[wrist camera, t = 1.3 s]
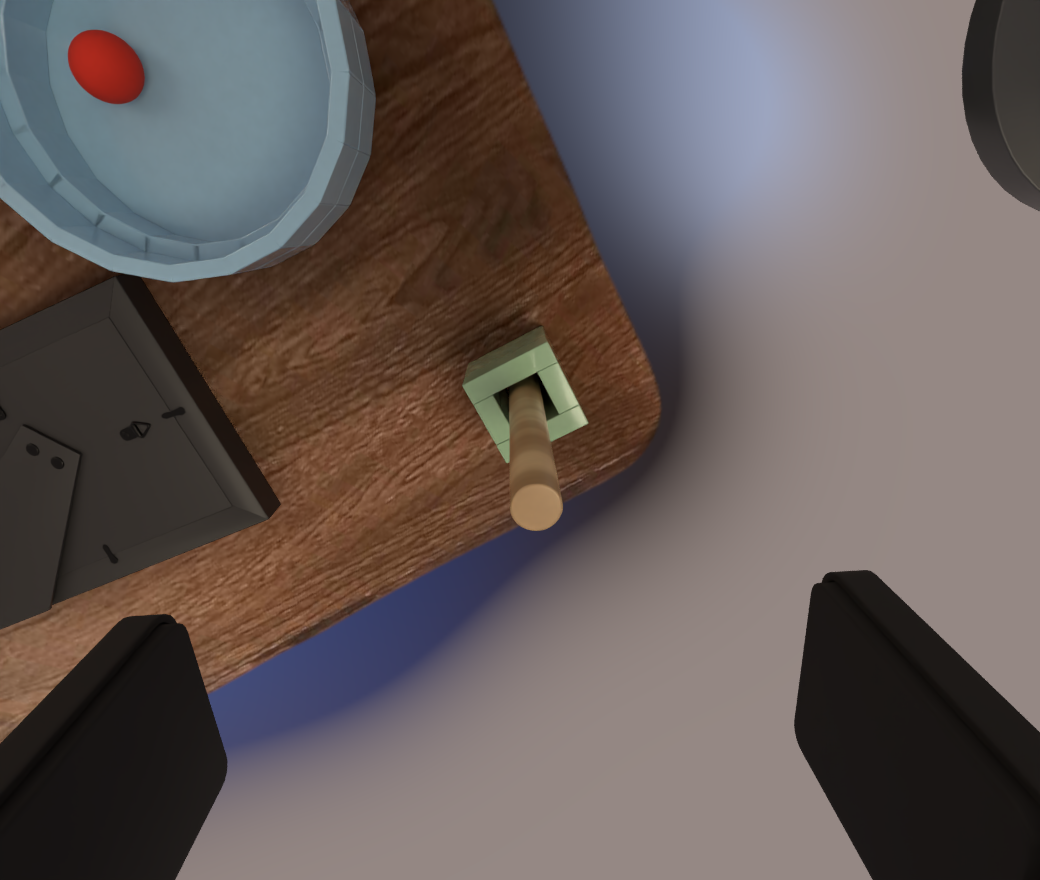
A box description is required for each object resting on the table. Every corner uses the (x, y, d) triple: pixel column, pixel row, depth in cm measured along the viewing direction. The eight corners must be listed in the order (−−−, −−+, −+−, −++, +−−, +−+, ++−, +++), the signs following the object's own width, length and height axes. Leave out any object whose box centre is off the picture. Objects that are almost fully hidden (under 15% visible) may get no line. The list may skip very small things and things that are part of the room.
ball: (93, 33, 29) (48, 13, 26) (156, 47, 29) (119, 28, 26) (97, 102, 30) (54, 90, 27) (158, 114, 30) (122, 104, 27)
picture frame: (18, 608, 41) (281, 504, 39) (-16, 635, 38) (264, 525, 36) (-154, 408, 36) (138, 272, 33) (-207, 423, 33) (106, 277, 31)
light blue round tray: (4, -168, 27) (-131, -273, 21) (395, -76, 28) (366, -150, 22) (40, 237, 33) (-58, 240, 27) (360, 296, 34) (331, 311, 28)
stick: (512, 363, 36) (515, 479, 20) (541, 369, 36) (567, 488, 20) (506, 392, 36) (505, 527, 20) (535, 397, 36) (557, 535, 20)
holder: (467, 363, 36) (461, 385, 31) (542, 325, 35) (547, 341, 30) (506, 433, 37) (506, 463, 32) (578, 397, 36) (588, 423, 32)
